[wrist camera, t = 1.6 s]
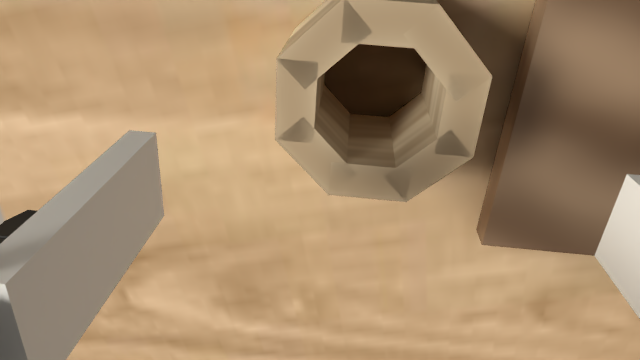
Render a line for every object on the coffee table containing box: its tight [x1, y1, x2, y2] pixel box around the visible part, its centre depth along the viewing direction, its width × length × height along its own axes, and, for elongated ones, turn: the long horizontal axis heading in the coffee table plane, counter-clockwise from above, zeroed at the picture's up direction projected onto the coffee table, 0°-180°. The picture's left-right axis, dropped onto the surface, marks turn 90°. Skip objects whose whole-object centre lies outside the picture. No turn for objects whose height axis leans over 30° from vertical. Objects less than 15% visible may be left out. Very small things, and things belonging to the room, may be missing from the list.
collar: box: [275, 0, 492, 202], centre depth 22 cm, size 8×8×6 cm
